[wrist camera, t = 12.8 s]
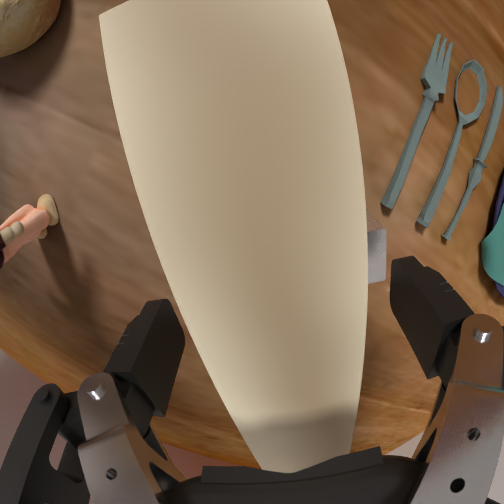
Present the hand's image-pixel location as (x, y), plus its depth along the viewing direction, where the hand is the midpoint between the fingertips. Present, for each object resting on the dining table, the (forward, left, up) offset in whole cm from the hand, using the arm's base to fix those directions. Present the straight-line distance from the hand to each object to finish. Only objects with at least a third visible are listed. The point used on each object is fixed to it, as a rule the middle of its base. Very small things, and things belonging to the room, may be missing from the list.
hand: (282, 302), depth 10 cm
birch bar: (0, 0, -2) cm, 2 cm away
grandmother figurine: (-19, +4, -10) cm, 22 cm away
